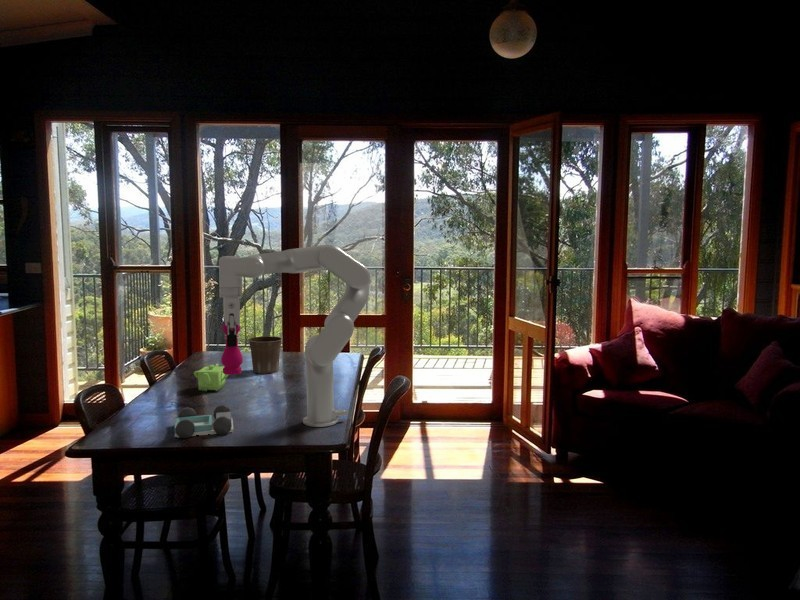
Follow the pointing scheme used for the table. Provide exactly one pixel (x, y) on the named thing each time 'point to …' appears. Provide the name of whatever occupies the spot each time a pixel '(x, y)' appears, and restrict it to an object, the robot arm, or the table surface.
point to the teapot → (211, 377)
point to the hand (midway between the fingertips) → (231, 344)
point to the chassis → (203, 422)
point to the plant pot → (265, 353)
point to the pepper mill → (231, 355)
